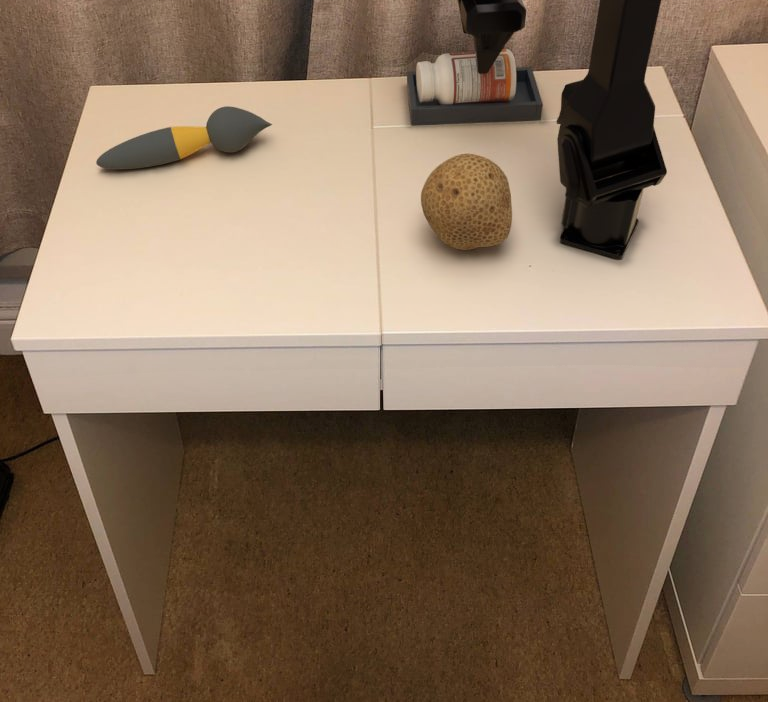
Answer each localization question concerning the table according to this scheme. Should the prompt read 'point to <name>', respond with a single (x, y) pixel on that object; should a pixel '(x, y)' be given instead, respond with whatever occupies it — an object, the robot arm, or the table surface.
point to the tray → (479, 105)
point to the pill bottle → (466, 80)
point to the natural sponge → (468, 202)
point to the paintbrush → (185, 140)
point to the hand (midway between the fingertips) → (475, 52)
